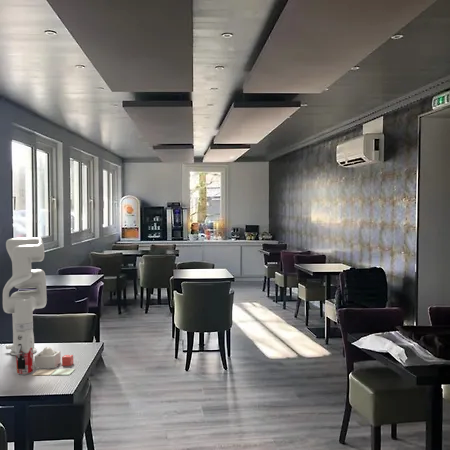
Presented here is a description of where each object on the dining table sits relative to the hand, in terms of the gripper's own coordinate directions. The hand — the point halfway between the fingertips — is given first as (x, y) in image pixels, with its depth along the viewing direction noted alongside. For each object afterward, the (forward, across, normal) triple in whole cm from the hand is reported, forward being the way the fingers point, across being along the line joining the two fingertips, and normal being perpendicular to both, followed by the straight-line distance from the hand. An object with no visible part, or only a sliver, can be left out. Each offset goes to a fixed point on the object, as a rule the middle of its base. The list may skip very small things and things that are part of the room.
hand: (25, 366), depth 238 cm
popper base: (+3, +12, -6) cm, 14 cm away
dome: (0, +12, -6) cm, 13 cm away
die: (+3, +13, -15) cm, 20 cm away
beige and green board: (+3, 0, -13) cm, 13 cm away
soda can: (+3, 0, 0) cm, 3 cm away
